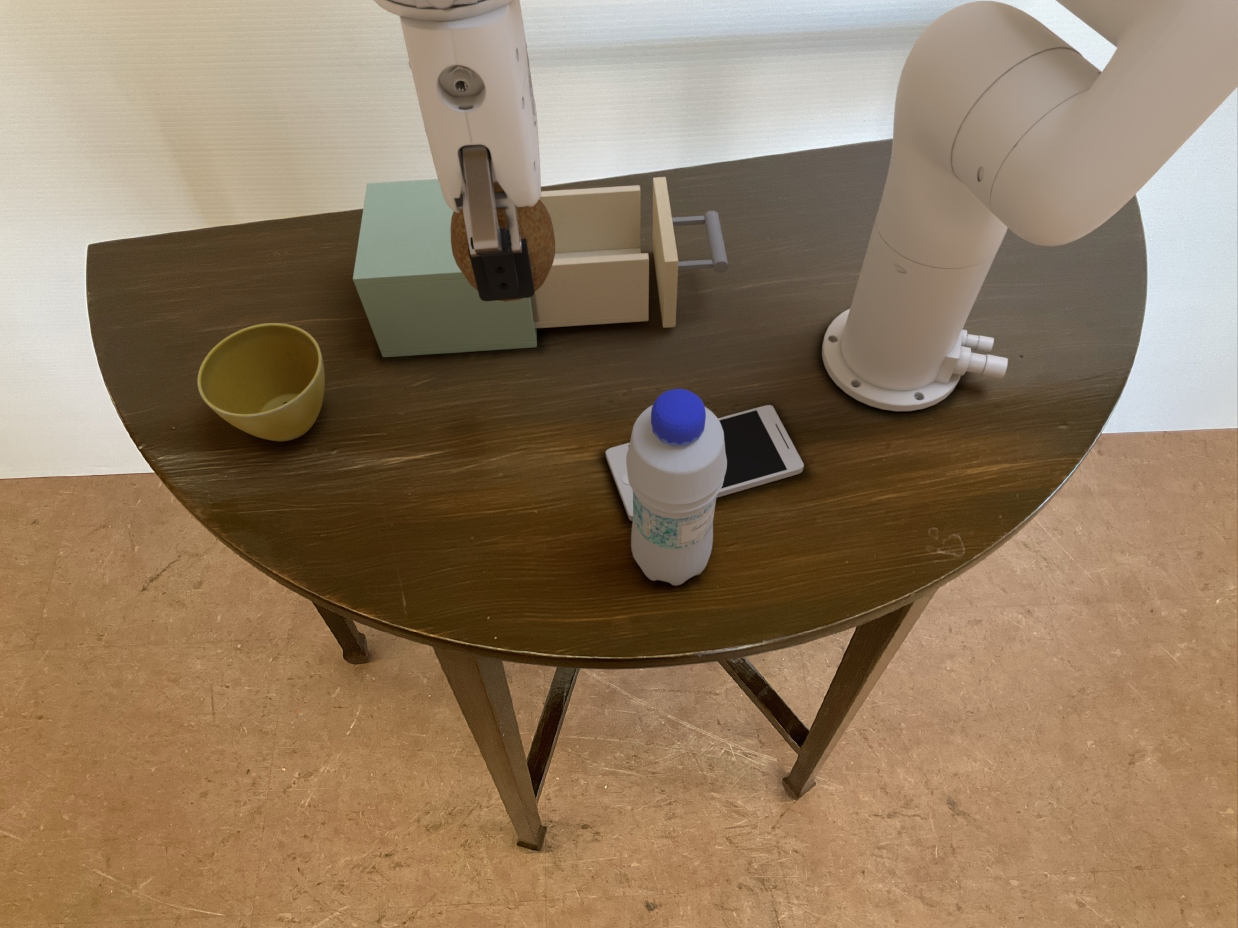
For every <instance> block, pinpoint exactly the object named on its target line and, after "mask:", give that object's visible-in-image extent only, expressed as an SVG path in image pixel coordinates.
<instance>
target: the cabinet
mask: <svg viewBox="0 0 1238 928" xmlns="http://www.w3.org/2000/svg"><path fill="white" fill-rule="evenodd" d="M365 188H366V189H365V195H364V202H363V209H362V215H361V222H360V228H359V236H358V242H357V248H356V254H355V260H354V261H355V262H354V268H353V275H352V281H353V284H354V286H355V289H356V291H357V294H358V296H359V299H360V301H361V303H362V307H363V310H364V312H365V315H366V318H367V320H368V323H369V325H370V328H371V330H372V333H373V335H374V338H375V341H376V343H377V346H378V349H379V351H380V354H381V356H382V358H395V357H411V356H425V355H439V354H441V355H442V354H456V353H470V352H487V351H500V350H501V351H503V350H515V349H518V350H519V349H531V348H537V347H538V339H537V338H538V330H537V329H538V328H535V326H534V320H533V313H532V307H531V300H530V297H529V298H523V299H520V300H514V301H506V302H505V301H499V300H497V301H483V300H481V299H480V297H479V293H478V291H477V290H476V289H475V288H474V287H472V286H471V285H470V283H469V282H468V280H467V279H466V278H465V276H464V275H463V273H462V272H461V270H460V269H459V267H458V266H457V264H456V262H455V259H454V256H453V253H452V247H451V232H450V228H451V217H452V215H453V212H454V211H453V210H452V209H451V208H449V207H448V206H447V204H446V202H445V199H444V196H443V193H442V190H441V187H440V184H439V180H438V178H433V179H431V178H430V179H416V180H415V179H414V180H399V181H386V182H385V181H383V182H368V183H366V187H365Z"/></svg>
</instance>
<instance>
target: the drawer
mask: <svg viewBox="0 0 1238 928" xmlns="http://www.w3.org/2000/svg"><path fill="white" fill-rule="evenodd" d="M539 199H540V200H541V202H542V203H543V204H544V205H545V207H546V209H547V211H548V213H549V215H550V217H551V220H552V224H553V229H554V236H555V257H554V261H553V264H552V267H551V269H550V271H549V274H548V276H547V278H546V279H545V281H544V283H543V285H542V286H541V287H540V288H539V289H538V290H537V291H535V292H534V295H533V296H532V297H530V300H531V307H532V313H533V320H534V326H535V328H537V329H546V328H561V327H562V328H563V327H577V326H590V325H606V324H607V325H609V324H622V323H623V324H625V323H639V322H648V321H649V320H650V319H649V314H650V313H649V303H650V302H649V298H650V295H649V293H650V255H649V253H648V252H644V253H642V246H641V245H642V240H641V238H642V235H641V233H642V232H641V230H642V229H641V228H642V227H641V225H642V224H641V221H642V219H641V215H642V214H641V213H642V212H641V210H642V209H641V207H642V206H641V185H639V184H635V185H622V186H621V185H620V186H605V187H590V188H574V189H560V190H557V189H556V190H541V196H540V198H539ZM699 225H704V226H705V231H706V232H705V233H706V238H707V242H708V249H709V253H710V259H698V260H683V261H679V255H678V250H677V243H676V242H677V241H676V237H675V230H674V227H685V226H699ZM651 233H652V235H651V236H652V238H651V239H652V240H651V242H652V243H651V245H652V253H653V261H654V269H655V276H656V277H655V278H656V283H657V284H656V285H657V292H658V301H659V309H660V315H661V324H662V328H676V325H677V324H676V323H677V303H678V301H677V300H678V282H679V281H678V277H679V271H693V270H707V269H713V270H714V272H716V273H724V272H726V271H727V270H728V268H729V262H728V257H727V252H726V247H725V240H724V237H723V232H722V227H721V220H720V217H719V213H718V211H716V210H708V211H706V212H705V213H704V214H703V215H692V216H691V215H690V216H677V217H676V216H675V217H673V216H672V209H671V204H670V195H669V190H668V183H667V177H666V176H658V177H653V178H652V231H651Z"/></svg>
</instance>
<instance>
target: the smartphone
mask: <svg viewBox="0 0 1238 928" xmlns="http://www.w3.org/2000/svg"><path fill="white" fill-rule="evenodd" d="M717 418H718V420H719V421H720V424H721V426H722V429H723V432H724V442H725V453H726V458H727V469H726V473H725V476H724V481H723V485H722V487H721V489H720V491H719V493H718V494H717V496H716V499H718V498H721V497H724V496H728V495H730V494H735V493H738V492H741V491H745V490H748V489H751V488H755V487H759V486H761V485H766V484H769V483H772V482H776V481H779V480H782V479H786V478H788V477H789V478H790V477H793V476H796V475H799V474H801V473H803V471H804V467H805V464H804V462H803V460H802V458H801V456H800V454H799V453H798V450H797V449H796V446H795V445H794V443H793V441H792V439H791V437H790V436H789V434H788V431H787V430H786V428H785V426H784V424H783V422H782V421H781V418H780V417H779V415H778V413H777V411H776V409H775V408H774V406H773V405H771V404H767V405H761V406H758V407H755V408H750V409H747V410H743V411H741V412H736V413H733V414H729V415H725V416H722V417H717ZM629 445H630V442H627V443H624V444H623V443H622V444H619V445H616V446H612V447H609V448H608V449H606V450H605V459H606V462H607V464H608V467H609V469H610V472H611V475H612V477H613V480H614V483H615V485H616V488H617V491H618V493H619V496H620V499H621V502H622V503H623V506H624V509H625V512H626V515H627V517H628V520H629V521H630V522H633V490H632V488H631V486H630V484H629V481H628V475H627V467H626V456H627V452H628V449H629Z"/></svg>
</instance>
